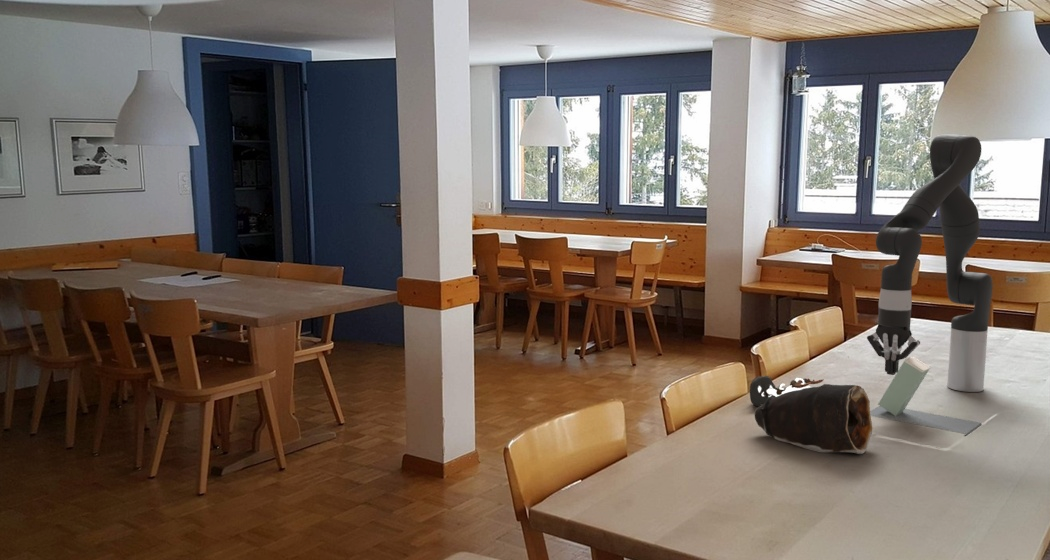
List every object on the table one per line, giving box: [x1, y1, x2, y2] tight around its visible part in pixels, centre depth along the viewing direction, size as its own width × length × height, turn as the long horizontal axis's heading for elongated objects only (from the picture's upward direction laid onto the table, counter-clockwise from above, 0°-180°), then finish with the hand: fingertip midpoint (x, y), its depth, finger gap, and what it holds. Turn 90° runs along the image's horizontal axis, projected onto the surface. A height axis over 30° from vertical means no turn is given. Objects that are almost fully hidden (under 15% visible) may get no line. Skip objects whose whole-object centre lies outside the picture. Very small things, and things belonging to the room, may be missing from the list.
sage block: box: [877, 355, 931, 416], centre depth 217 cm, size 5×5×14 cm
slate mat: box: [870, 405, 983, 437], centre depth 215 cm, size 12×24×1 cm, turn 47°
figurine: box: [749, 375, 824, 408], centre depth 225 cm, size 14×10×18 cm
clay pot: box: [754, 383, 873, 455], centre depth 197 cm, size 15×15×25 cm
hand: (891, 374), depth 219 cm, fingers closed
